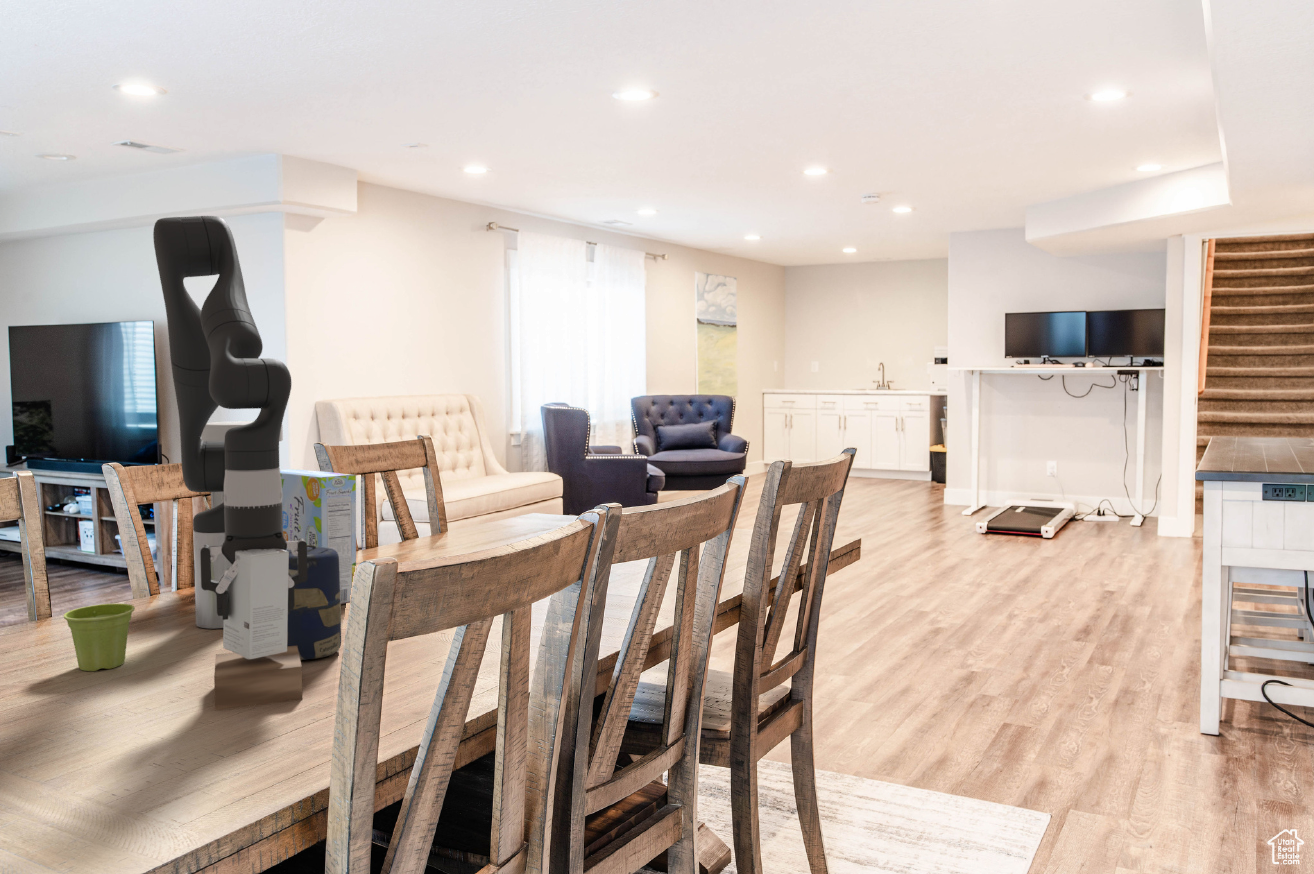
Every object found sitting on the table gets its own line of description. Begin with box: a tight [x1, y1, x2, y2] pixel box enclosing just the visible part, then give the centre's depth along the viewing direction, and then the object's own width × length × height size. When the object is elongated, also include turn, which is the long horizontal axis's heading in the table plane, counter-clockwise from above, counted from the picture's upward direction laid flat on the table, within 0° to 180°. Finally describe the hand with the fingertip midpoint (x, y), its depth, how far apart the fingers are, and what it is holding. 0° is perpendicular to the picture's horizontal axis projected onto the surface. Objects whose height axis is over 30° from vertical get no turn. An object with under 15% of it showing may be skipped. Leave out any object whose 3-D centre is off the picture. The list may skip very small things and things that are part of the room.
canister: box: [287, 545, 342, 661], centre depth 149 cm, size 10×10×18 cm
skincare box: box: [222, 549, 289, 659], centre depth 131 cm, size 8×6×15 cm
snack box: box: [280, 468, 357, 605], centre depth 188 cm, size 22×9×26 cm, turn 52°
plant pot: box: [63, 603, 136, 672], centre depth 144 cm, size 9×9×9 cm
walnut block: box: [213, 646, 303, 712], centre depth 132 cm, size 11×11×5 cm
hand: (256, 615), depth 131 cm, fingers closed on skincare box, 7 cm apart
